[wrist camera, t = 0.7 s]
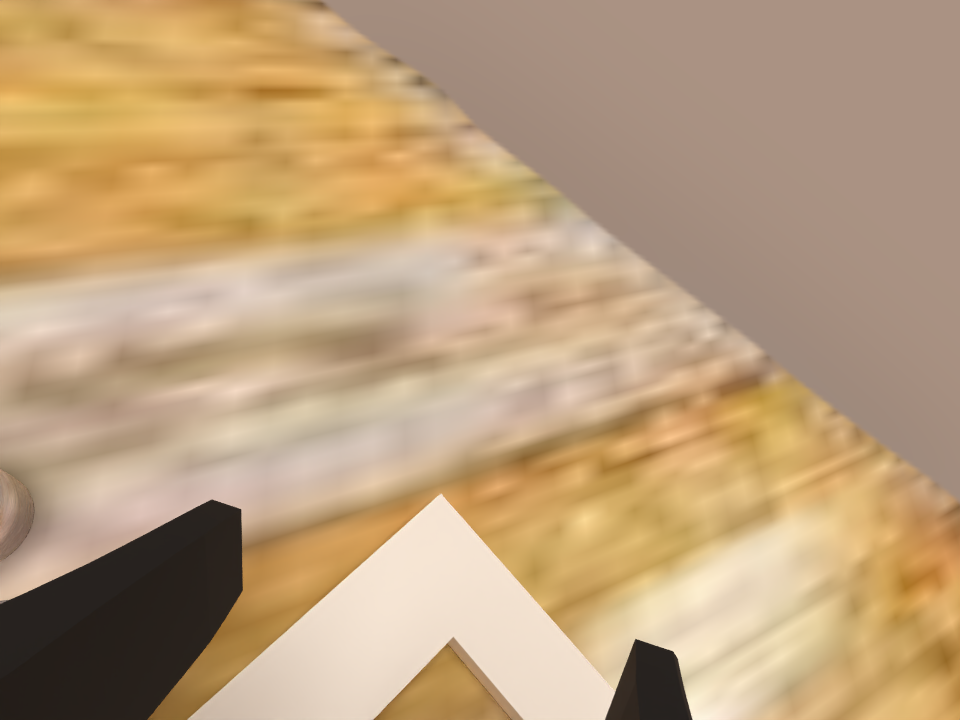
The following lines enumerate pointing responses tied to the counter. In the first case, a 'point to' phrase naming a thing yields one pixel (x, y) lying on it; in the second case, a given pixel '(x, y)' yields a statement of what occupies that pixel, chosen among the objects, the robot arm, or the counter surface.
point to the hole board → (417, 637)
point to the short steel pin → (13, 514)
